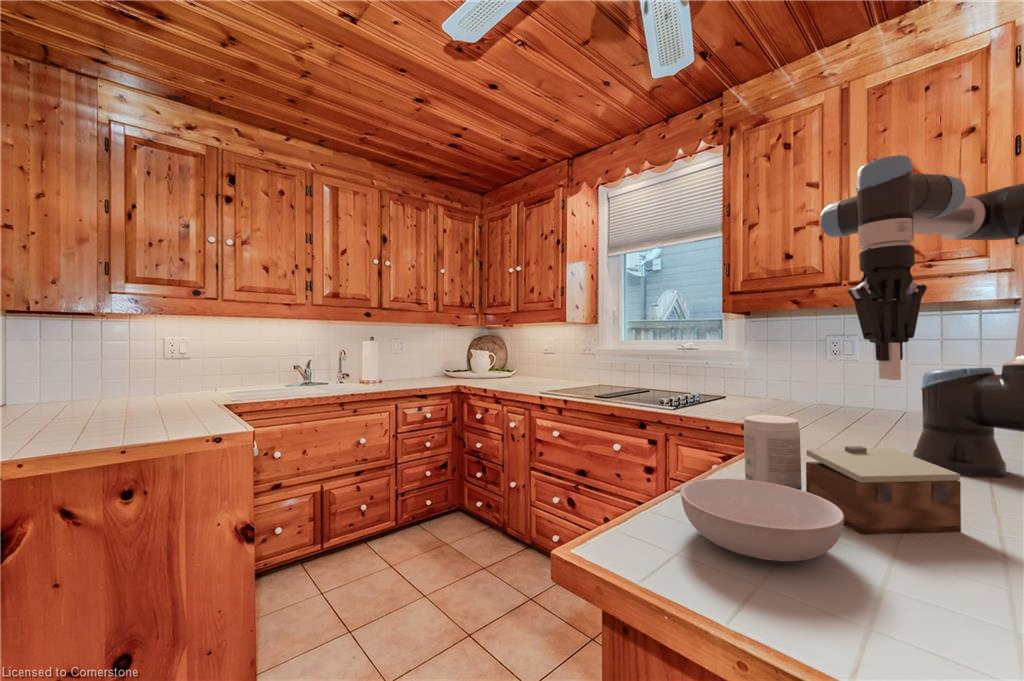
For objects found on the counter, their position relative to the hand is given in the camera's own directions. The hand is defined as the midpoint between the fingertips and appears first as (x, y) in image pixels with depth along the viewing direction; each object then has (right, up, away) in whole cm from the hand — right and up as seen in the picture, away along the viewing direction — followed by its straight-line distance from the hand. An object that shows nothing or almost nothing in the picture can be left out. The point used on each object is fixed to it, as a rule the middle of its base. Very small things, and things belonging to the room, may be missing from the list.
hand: (889, 378), depth 78 cm
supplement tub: (-17, -23, +8) cm, 30 cm away
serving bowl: (-32, -24, -14) cm, 42 cm away
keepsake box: (-6, -23, -4) cm, 24 cm away
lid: (-6, -15, -4) cm, 16 cm away
